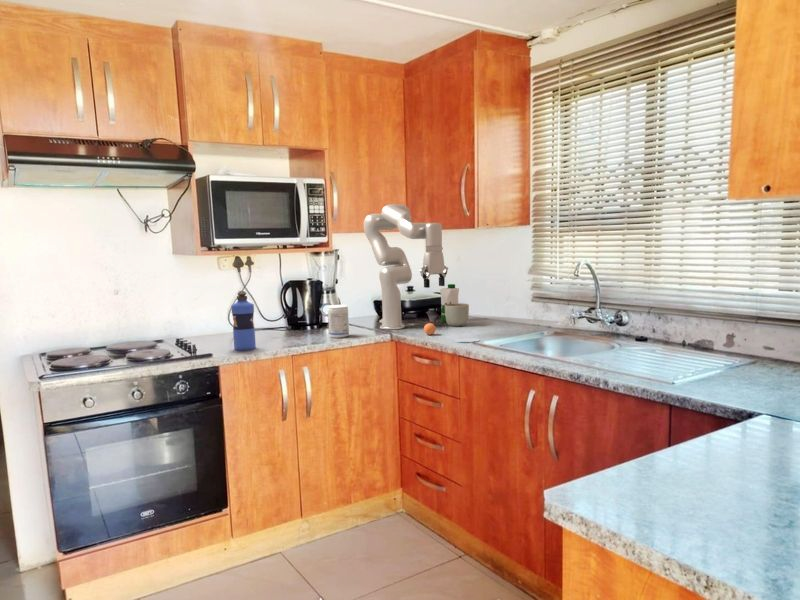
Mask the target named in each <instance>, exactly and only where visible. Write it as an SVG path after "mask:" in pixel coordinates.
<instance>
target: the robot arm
mask: <svg viewBox="0 0 800 600" xmlns="http://www.w3.org/2000/svg"><path fill="white" fill-rule="evenodd" d="M412 219H413V218H412V215H411V213H410V209H409V207H408V206H407V205H405V204H401V203H400V204H399V203H398V204H397V203H396V204H395V203H391V204H389V203H388V204H386V205H384V206H383V207H382V209H381V213H370V214H368V215H366V217H364V220H363V231H364V234H365V237H366V239H367V240H368V242H369V244H370V247H371V250H372V253H373V255H374V258H375V261H376V263H377V264H378V265H379V266H381V267H383V268H381V270H380V271H379V273H378V277H379V282H380V287H381V304H382V305H381V306H382V310H381V311H382V318H381V319H380V320H379V323H380V324H381V325H379V329H381V330H400V329H404V328H405V324H402V307H401V306H402V305H401V304H402V301H401V300H402V299H401V298H402V297H401V291H400V288H399V287H398V285H405V284H406V285H407V284H409V283H410V282H411V280H412V278H413V273H412V269H411V265H410V264H409V260H408V258H407V256H406V254H405V252H404V250H403V249H402V248H401V247H398V246H393V247H392V246H390V245H389V243H388V240H387V238H386V236H384V235H383V233H381V231H392V230H394V229H397V230H398V231H399V233H400V234H401V235H402V236H404V237H406V238H407V239H411V240H425V252H424V253H423V254H424V255H423V259H422V261H423V262H422V268H420V269H419V272H420V276H421V277H422V279H423V288H427V289H428V288H431V287H430V286H431V285H430V281H431V280H430V279H429V278H430V277H431V275H433V276H434V275H438V276H439V277H438V286H439V287H445V285H446V284H445V280H446V279H445V278H446V277H447V276H446V275H447V274H448V270H449V267H447V266H446V265H445V260H444V252H443V250H444V249H443V227H442V223H441V222H412Z"/></svg>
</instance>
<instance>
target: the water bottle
mask: <svg viewBox="0 0 800 600" xmlns="http://www.w3.org/2000/svg"><path fill="white" fill-rule="evenodd" d="M236 300H237V301H236V302H235V303H233V304H231V307H230V309H231V314H232V315H231V316H232V320H233V327H232V328H233V329H232V330H233V331H232V335H233V350H234V351H239V352H240V351H242V352H243V351H252V350H255V349H256V347H257V346H256V345H257V343H256V330H255V329H256V328H255V324H254V323H255V322H254V315H255V314H254V313H255V305H254V303H252V302H250V301H248V295H247V292H246V291H244V290H240V291H238V292H237V296H236Z"/></svg>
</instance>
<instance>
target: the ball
mask: <svg viewBox="0 0 800 600" xmlns="http://www.w3.org/2000/svg"><path fill="white" fill-rule="evenodd" d="M436 329H437V328H436V326H435V325H434V323H431V322H429V323H426V324H425V325H424V326H423V331H424V333H425V335H429V336H432V335H434V334H435V333H436ZM431 334H432V335H431Z"/></svg>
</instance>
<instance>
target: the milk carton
mask: <svg viewBox="0 0 800 600" xmlns="http://www.w3.org/2000/svg"><path fill="white" fill-rule="evenodd" d="M459 291H460V288H459V287H458V288H457V287H456V284H454V283H451V284H450V283H449V284H447V287H442V288H439V292H440V297H441V298H440V301H441V302H440V303H441V307H440V309H441V315H440V317H441V318H440V322H441V321H446V316H445V305H446V304H453V303H459Z"/></svg>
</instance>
